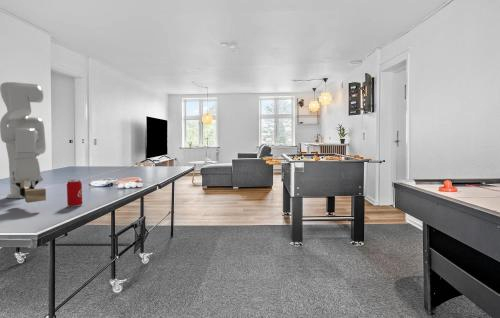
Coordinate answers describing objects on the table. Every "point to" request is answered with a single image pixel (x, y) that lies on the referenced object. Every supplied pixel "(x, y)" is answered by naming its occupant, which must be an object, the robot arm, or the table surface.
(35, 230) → the table surface
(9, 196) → the robot arm
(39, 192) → the curved plank on base
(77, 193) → the beverage can
